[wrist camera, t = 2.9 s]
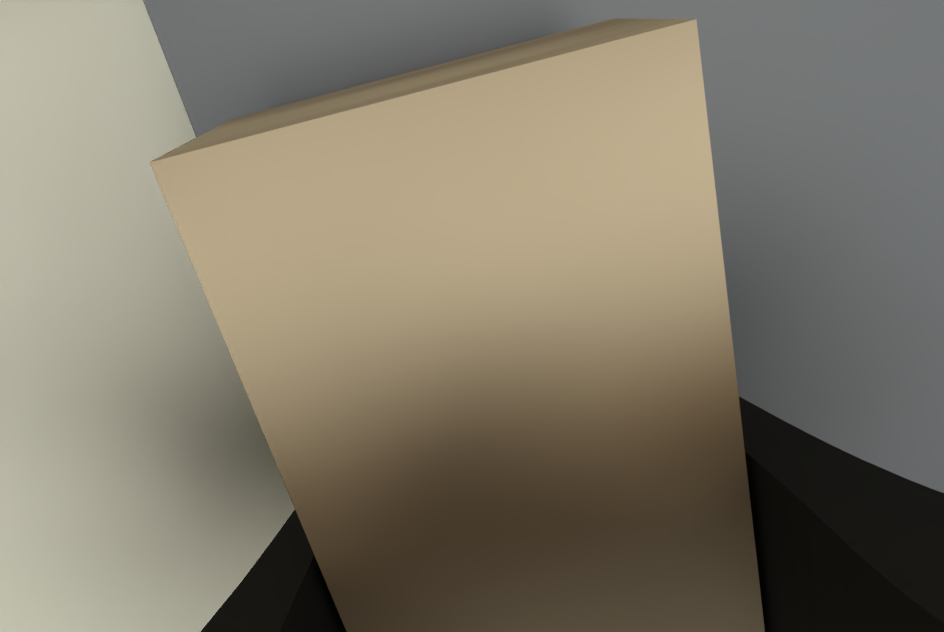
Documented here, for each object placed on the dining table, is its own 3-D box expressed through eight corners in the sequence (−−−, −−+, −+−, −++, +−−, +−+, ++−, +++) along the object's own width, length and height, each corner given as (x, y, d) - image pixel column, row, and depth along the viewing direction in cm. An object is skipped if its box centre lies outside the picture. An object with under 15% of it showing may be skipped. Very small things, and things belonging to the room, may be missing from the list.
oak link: (726, 753, 14) (798, 927, 12) (483, 807, 15) (498, 992, 12) (613, 18, 9) (696, 18, 6) (231, 118, 9) (149, 162, 6)
